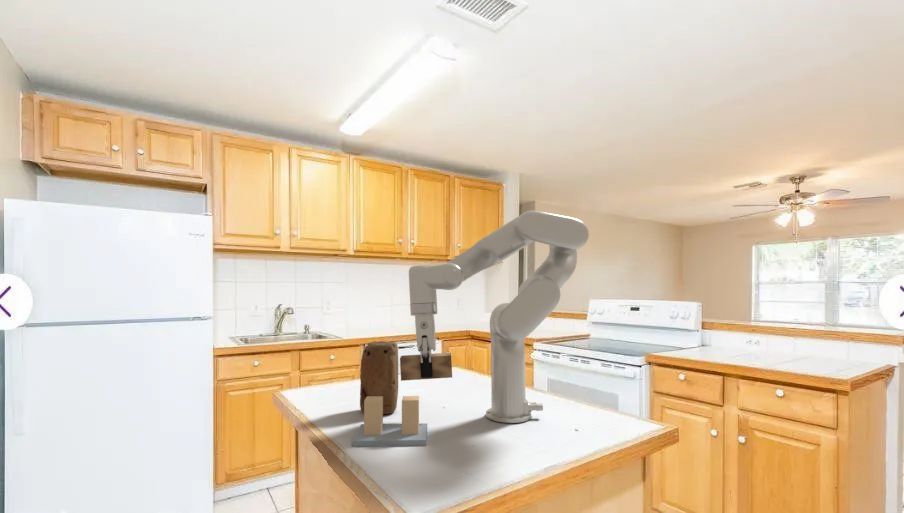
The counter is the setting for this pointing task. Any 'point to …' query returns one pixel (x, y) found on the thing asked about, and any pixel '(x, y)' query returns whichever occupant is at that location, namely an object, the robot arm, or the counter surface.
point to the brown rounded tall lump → (380, 374)
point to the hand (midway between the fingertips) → (427, 374)
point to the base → (391, 425)
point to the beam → (412, 366)
